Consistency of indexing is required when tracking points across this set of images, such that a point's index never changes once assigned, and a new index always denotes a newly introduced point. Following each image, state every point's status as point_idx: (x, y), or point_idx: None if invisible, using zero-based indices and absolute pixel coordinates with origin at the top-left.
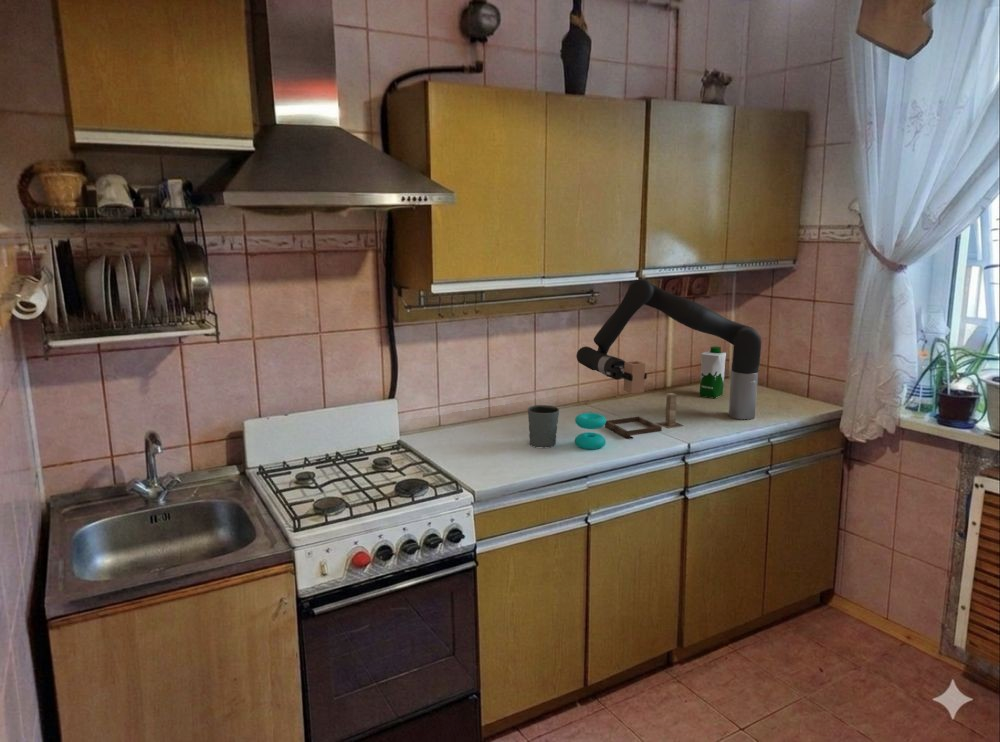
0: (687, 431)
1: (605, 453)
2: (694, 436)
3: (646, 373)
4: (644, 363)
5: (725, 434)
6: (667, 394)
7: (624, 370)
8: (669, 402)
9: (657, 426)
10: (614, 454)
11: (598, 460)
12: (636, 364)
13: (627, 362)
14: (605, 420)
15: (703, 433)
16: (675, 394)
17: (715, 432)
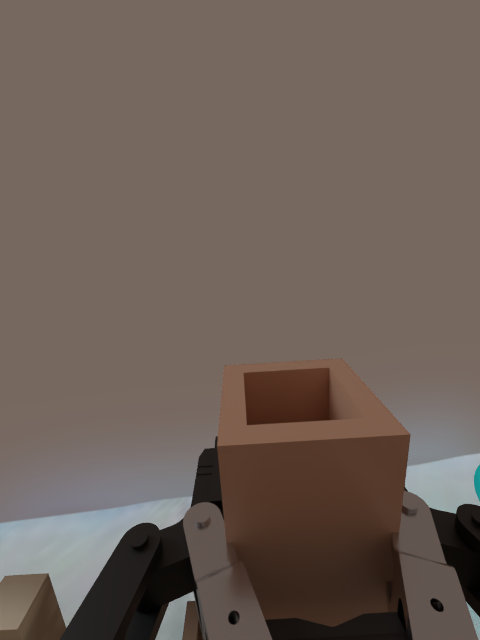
0: (77, 608)
1: (451, 498)
2: (117, 542)
3: (199, 457)
4: (228, 366)
5: (27, 525)
6: (25, 618)
7: (397, 521)
8: (52, 620)
9: (197, 618)
10: (422, 485)
11: (466, 464)
12: (305, 361)
13: (373, 410)
14: (477, 470)
15: (62, 559)
16: (5, 581)
17: (21, 554)
